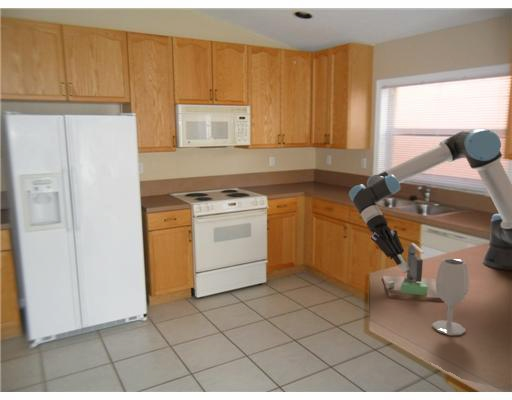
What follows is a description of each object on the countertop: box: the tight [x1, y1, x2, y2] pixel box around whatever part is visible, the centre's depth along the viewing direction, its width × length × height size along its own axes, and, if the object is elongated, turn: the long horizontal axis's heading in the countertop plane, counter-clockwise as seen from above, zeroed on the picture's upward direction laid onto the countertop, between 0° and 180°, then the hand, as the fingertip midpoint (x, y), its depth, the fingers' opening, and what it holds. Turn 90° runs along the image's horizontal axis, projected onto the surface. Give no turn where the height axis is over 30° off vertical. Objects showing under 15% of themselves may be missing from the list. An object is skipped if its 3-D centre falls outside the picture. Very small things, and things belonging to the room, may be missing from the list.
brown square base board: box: [382, 275, 443, 302], centre depth 153 cm, size 19×20×1 cm
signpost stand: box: [403, 242, 425, 283], centre depth 152 cm, size 14×4×15 cm, turn 175°
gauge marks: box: [385, 281, 428, 295], centre depth 149 cm, size 14×5×3 cm, turn 61°
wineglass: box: [431, 258, 470, 337], centre depth 120 cm, size 9×9×21 cm
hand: (406, 271), depth 152 cm, fingers closed
